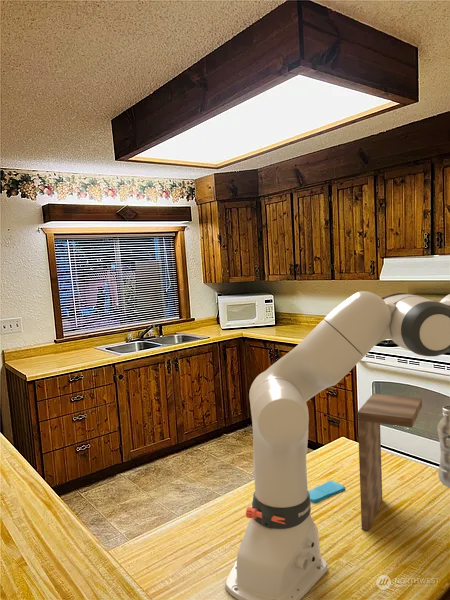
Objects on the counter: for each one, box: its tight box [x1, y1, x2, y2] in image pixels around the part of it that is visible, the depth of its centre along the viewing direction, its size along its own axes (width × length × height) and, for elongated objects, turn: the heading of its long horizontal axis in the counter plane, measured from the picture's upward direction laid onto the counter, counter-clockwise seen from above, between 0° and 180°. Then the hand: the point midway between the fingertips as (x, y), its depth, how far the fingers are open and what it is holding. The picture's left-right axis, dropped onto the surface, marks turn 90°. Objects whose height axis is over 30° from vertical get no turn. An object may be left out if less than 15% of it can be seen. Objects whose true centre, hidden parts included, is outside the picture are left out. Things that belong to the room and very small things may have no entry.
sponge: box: [308, 480, 346, 504], centre depth 122 cm, size 2×12×6 cm
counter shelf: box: [357, 393, 423, 532], centre depth 107 cm, size 15×12×28 cm
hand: (447, 435), depth 112 cm, fingers closed on plastic bottle, 6 cm apart
